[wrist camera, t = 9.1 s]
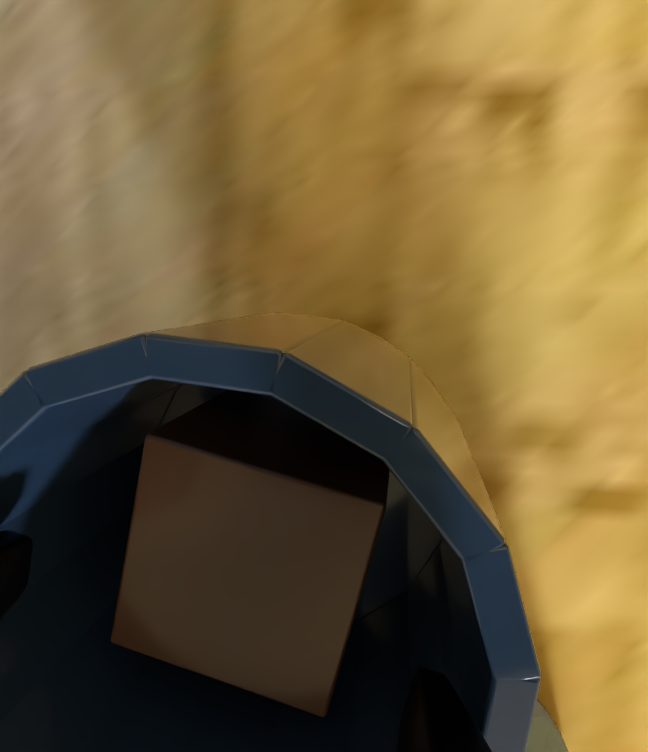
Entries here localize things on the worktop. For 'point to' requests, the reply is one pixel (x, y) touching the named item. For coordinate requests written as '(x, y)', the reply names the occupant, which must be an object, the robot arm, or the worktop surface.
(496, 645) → the cup
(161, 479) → the brown cube
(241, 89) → the worktop surface
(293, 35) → the worktop surface
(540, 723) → the green tapered tumbler
